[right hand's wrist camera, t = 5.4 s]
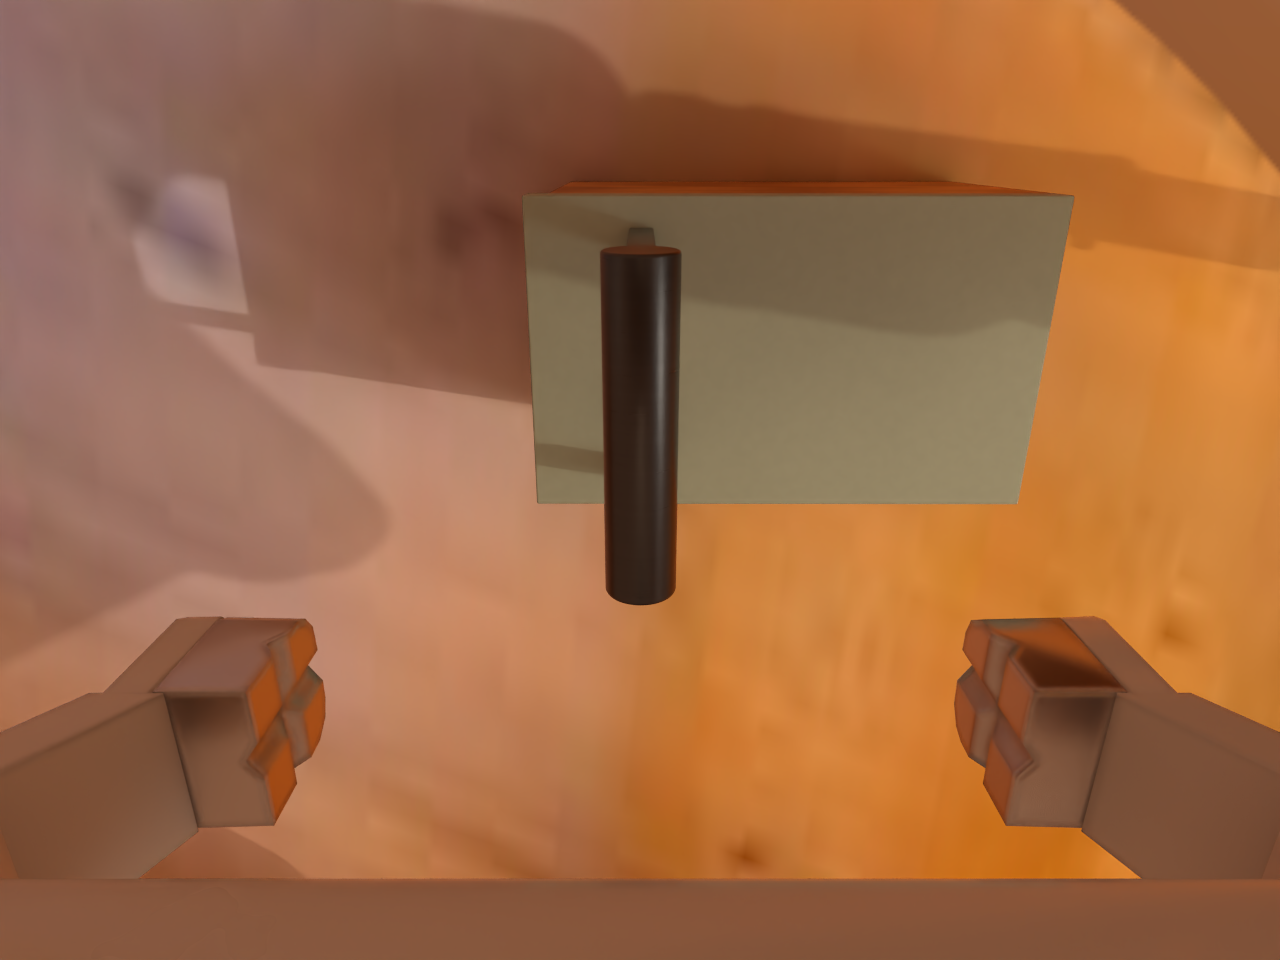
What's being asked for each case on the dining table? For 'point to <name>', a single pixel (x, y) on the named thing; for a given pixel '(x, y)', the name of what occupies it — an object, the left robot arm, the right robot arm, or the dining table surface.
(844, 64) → the dining table surface
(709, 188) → the chest
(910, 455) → the lid
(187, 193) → the dining table surface
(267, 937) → the right robot arm
